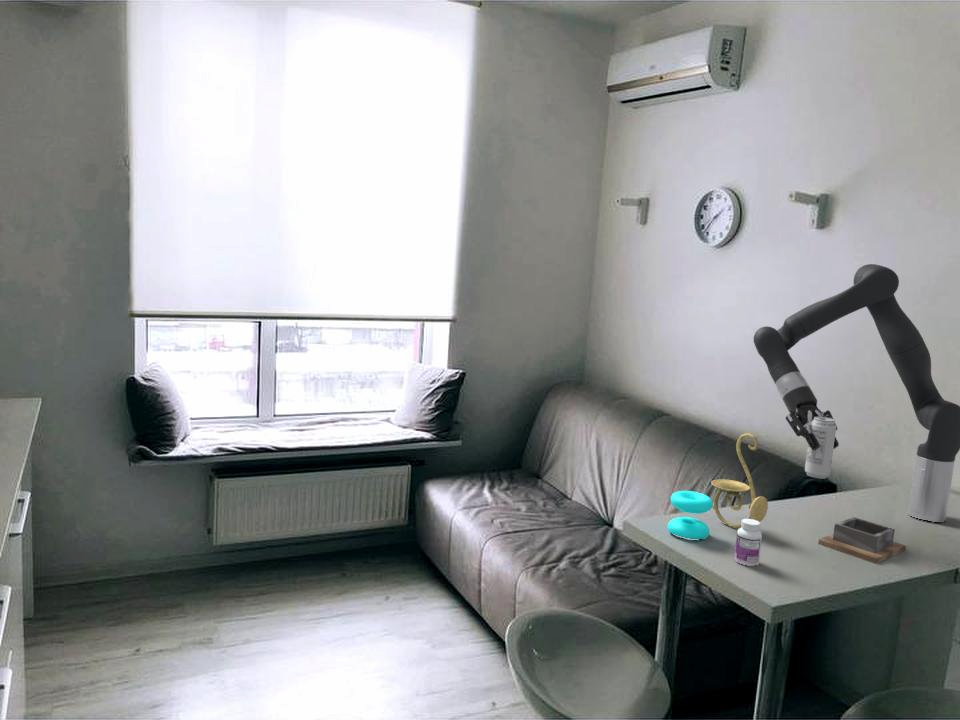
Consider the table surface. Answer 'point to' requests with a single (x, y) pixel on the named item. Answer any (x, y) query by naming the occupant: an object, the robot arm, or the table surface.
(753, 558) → the pill bottle
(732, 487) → the wall sconce
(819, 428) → the energy drink can
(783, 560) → the table surface
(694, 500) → the donuts
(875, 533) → the socket board
